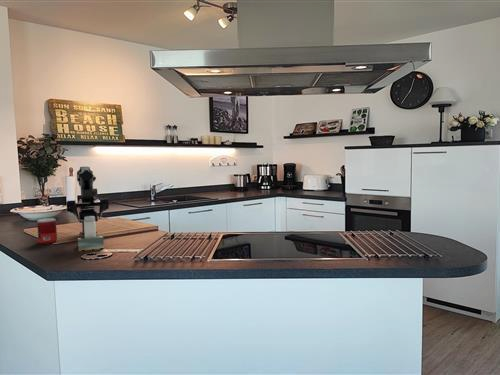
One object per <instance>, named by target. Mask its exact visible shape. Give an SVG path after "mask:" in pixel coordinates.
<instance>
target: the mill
mask: <svg viewBox="0 0 500 375" xmlns="http://www.w3.org/2000/svg"><path fill="white" fill-rule="evenodd" d="M96 225H97V224H96V222H95V216H86V217H84V233H85V234H84V239H85V238H95V237H97V233H96V231H97V229H96Z"/></svg>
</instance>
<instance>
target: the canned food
mask: <svg viewBox="0 0 500 375" xmlns="http://www.w3.org/2000/svg"><path fill="white" fill-rule="evenodd" d="M36 222H37V223H36V224H37V236H38V238H37V239H38V243H39V244H43V245H47V244H53V243H56V242H57V241H56V240H57V239H58V235H57V234H58V232H57V220H56V218H53V217H51V218H49V217H47V218H42V219H41V218H40V219H38V220H37V221H36ZM55 241H56V242H55ZM52 242H53V243H52Z"/></svg>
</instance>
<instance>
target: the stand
mask: <svg viewBox="0 0 500 375" xmlns="http://www.w3.org/2000/svg"><path fill="white" fill-rule="evenodd" d="M77 245H78V252H83V251H82V250H85V251H93V250H92V249H94V250H101V249H100V248H104V249H105V246H104V245H105V244H104V236H102V235H101V236H96V237H95V238H85V237H84V238H81V237H80V238H77Z"/></svg>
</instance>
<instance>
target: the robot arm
mask: <svg viewBox="0 0 500 375" xmlns="http://www.w3.org/2000/svg"><path fill="white" fill-rule="evenodd" d="M90 168H91V167H90V166H80V167H79V170H78V171H76V180H77V183H78V185H79V187H80V198H81V199H80V200H81V201H80V202H76V200H66V203H65V204H66V212H68V213H70V214H73V215H74V216H75V218H76V219H77V221H79V224H81V228H82V231H80V232H79V234H81V233H82V235H85V233H84V217H86V216H95V223H98V221H99V220H101V218H102V216H103V215H102V214H103V213H104V211H105V212H106V211H107V210H109V208H110V201H109V199H108V198H99V201H95V197H97V196H98V188H94V182H95V181H96V180H97V177H96V176H95V174H94V173H93V171H92V170H91V169H90ZM95 207H99V210H98V212H97V210H96V209H95ZM78 208H79V210H80V211H79V210H78ZM97 233H98V231H97V230H96V234H97Z"/></svg>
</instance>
